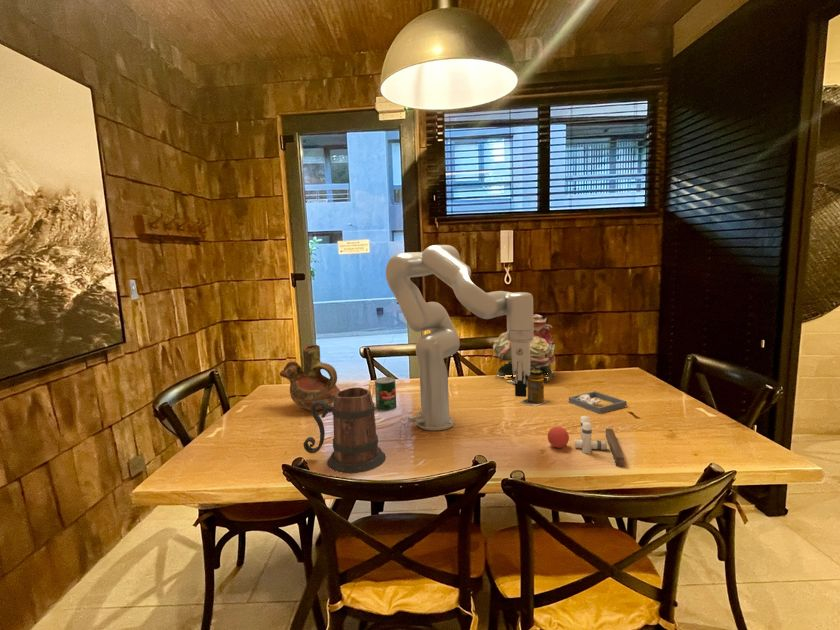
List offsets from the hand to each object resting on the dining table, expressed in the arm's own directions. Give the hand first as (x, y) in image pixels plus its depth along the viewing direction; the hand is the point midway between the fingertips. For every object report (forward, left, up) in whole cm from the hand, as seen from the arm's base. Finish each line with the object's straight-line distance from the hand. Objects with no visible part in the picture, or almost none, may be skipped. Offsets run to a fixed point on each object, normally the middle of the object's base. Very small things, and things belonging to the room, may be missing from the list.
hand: (520, 395), depth 134 cm
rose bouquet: (+47, +54, -15) cm, 73 cm away
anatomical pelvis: (+43, +15, -15) cm, 48 cm away
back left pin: (+16, -10, -15) cm, 24 cm away
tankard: (-49, +18, -15) cm, 55 cm away
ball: (+8, -7, -12) cm, 16 cm away
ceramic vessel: (-47, +68, -15) cm, 84 cm away
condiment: (+29, +28, -15) cm, 43 cm away
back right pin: (+12, -14, -15) cm, 24 cm away
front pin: (+12, -10, -14) cm, 21 cm away
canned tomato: (-22, +53, -15) cm, 60 cm away
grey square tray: (+46, +13, -15) cm, 50 cm away
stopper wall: (+20, -17, -15) cm, 30 cm away
